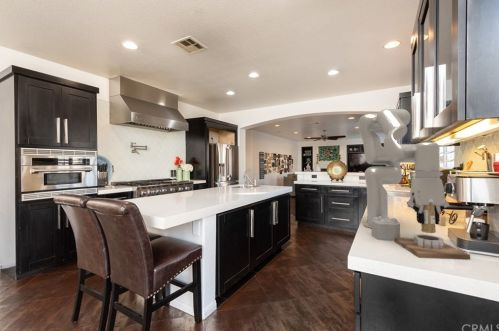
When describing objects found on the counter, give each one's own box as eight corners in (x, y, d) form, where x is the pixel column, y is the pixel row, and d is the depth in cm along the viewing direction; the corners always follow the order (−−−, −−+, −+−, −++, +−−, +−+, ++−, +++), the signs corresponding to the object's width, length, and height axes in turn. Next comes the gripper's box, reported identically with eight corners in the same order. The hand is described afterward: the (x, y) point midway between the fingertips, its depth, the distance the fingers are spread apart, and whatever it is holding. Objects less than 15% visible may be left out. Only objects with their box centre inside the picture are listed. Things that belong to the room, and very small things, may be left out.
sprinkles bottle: (438, 233, 88) (437, 197, 88) (423, 233, 89) (422, 196, 89) (432, 230, 92) (431, 195, 92) (418, 230, 94) (418, 195, 94)
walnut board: (394, 241, 101) (394, 238, 101) (436, 242, 99) (436, 239, 99) (418, 257, 83) (418, 253, 83) (470, 259, 81) (470, 254, 81)
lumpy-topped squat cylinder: (375, 240, 104) (375, 219, 104) (369, 232, 116) (369, 214, 116) (403, 241, 101) (402, 221, 101) (393, 233, 113) (393, 215, 113)
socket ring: (409, 241, 96) (409, 234, 96) (433, 242, 95) (433, 234, 95) (422, 249, 87) (422, 240, 87) (449, 249, 86) (449, 241, 86)
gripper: (444, 174, 94) (445, 221, 93) (398, 175, 96) (399, 220, 96) (458, 175, 86) (460, 226, 86) (408, 175, 89) (409, 225, 88)
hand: (428, 222), depth 91 cm, fingers closed on sprinkles bottle, 4 cm apart
